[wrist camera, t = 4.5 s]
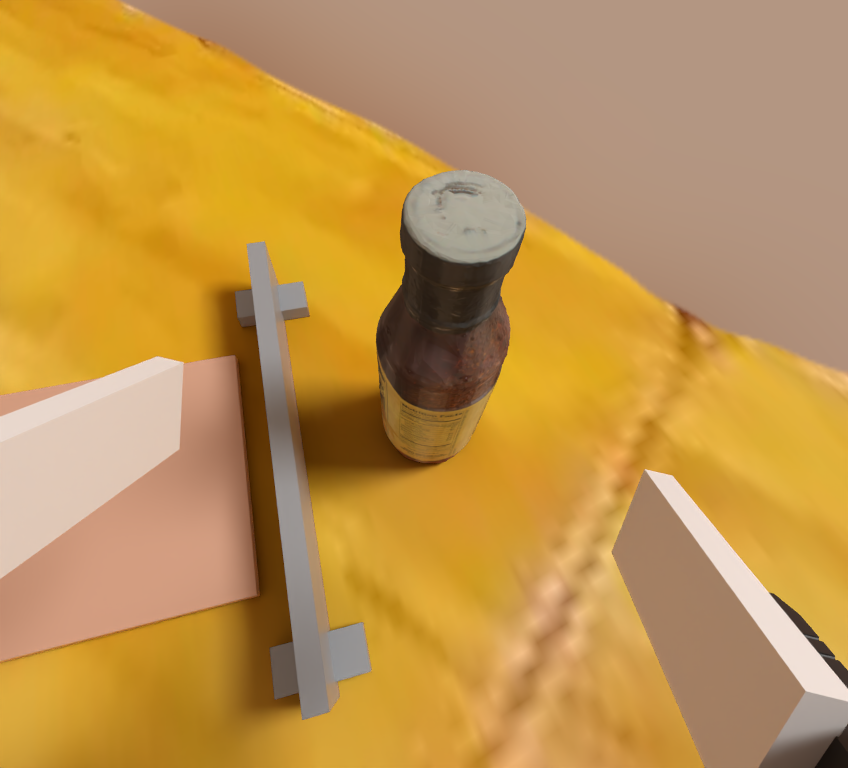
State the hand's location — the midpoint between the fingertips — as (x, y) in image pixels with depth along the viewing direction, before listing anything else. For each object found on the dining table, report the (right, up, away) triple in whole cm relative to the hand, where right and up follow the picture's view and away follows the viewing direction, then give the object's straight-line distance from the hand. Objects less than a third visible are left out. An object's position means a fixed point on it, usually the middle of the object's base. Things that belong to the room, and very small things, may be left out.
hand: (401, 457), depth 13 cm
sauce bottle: (+1, -1, +20) cm, 20 cm away
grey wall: (-8, -3, +18) cm, 20 cm away
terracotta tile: (-19, -5, +16) cm, 25 cm away
